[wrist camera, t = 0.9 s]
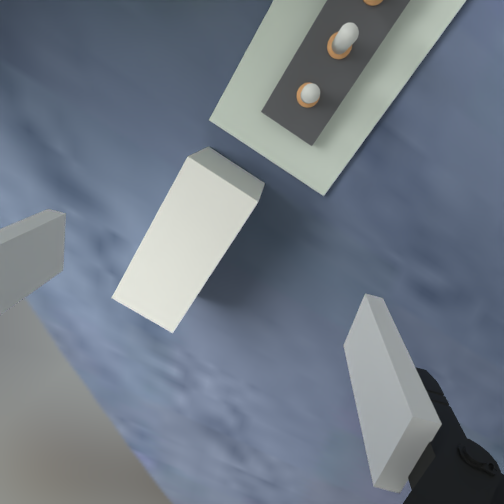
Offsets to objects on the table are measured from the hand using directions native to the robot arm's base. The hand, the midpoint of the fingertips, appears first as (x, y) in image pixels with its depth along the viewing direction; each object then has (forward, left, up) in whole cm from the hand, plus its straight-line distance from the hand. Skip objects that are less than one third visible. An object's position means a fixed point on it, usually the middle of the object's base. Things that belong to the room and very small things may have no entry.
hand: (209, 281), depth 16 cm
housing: (-2, -6, -19) cm, 20 cm away
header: (0, +13, -19) cm, 23 cm away
